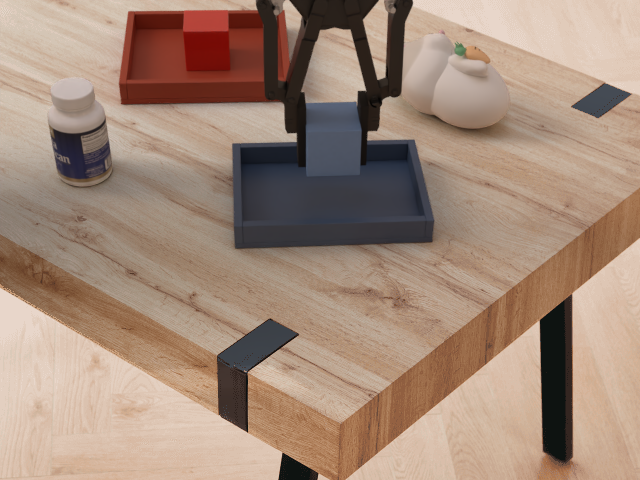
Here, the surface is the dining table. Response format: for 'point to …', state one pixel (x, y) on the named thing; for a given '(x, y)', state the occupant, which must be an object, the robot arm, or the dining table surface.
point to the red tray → (170, 67)
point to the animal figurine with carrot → (453, 82)
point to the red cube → (206, 40)
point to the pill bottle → (79, 133)
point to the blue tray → (329, 198)
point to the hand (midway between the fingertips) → (331, 157)
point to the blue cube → (332, 139)
